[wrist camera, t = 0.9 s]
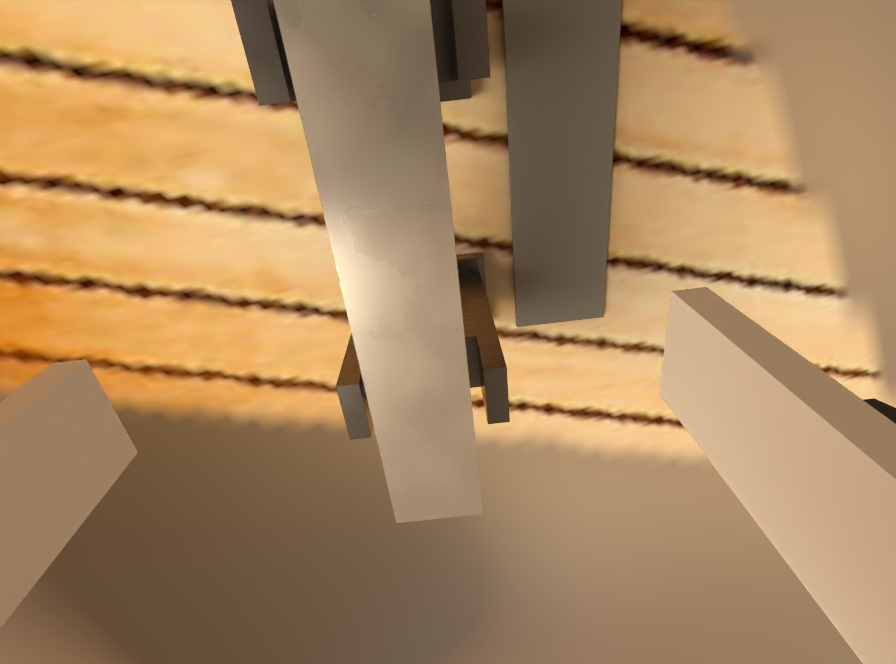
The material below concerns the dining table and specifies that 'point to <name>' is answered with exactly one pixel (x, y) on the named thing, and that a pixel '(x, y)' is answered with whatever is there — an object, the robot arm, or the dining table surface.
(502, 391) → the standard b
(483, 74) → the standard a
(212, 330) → the dining table surface
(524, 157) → the plank
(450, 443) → the rail
